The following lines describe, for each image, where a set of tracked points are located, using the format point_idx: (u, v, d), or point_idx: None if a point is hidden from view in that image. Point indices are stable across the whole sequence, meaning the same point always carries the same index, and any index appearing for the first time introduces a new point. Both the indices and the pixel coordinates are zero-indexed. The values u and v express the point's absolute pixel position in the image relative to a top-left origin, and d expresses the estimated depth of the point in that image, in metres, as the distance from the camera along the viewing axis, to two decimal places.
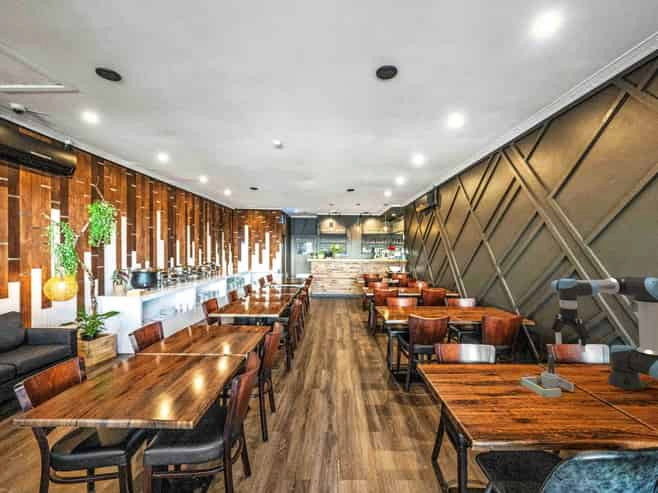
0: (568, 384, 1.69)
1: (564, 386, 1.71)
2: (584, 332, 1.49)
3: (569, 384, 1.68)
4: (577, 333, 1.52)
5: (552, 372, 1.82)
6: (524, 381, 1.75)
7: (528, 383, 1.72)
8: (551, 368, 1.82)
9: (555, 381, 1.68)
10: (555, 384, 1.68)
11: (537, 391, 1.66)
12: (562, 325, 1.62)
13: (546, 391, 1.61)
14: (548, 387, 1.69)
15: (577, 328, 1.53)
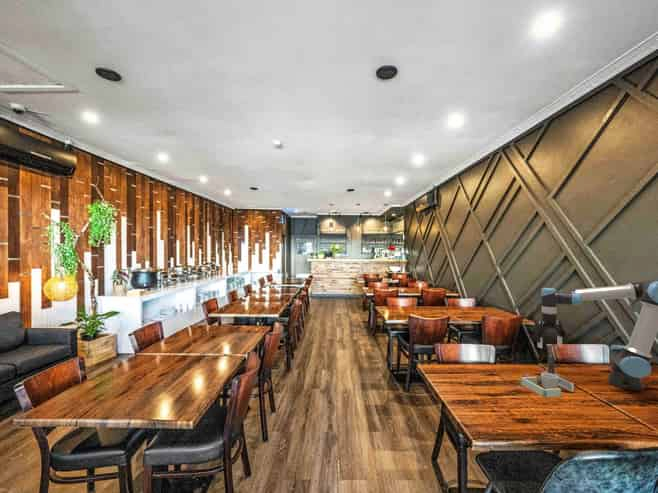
0: (568, 384, 1.69)
1: (564, 386, 1.71)
2: (535, 330, 1.84)
3: (569, 384, 1.68)
4: None
5: (552, 372, 1.82)
6: (524, 381, 1.75)
7: (528, 383, 1.72)
8: (551, 368, 1.82)
9: (555, 381, 1.68)
10: (555, 384, 1.68)
11: (537, 391, 1.66)
12: (554, 329, 1.85)
13: (546, 391, 1.61)
14: (548, 387, 1.69)
15: (542, 329, 1.84)
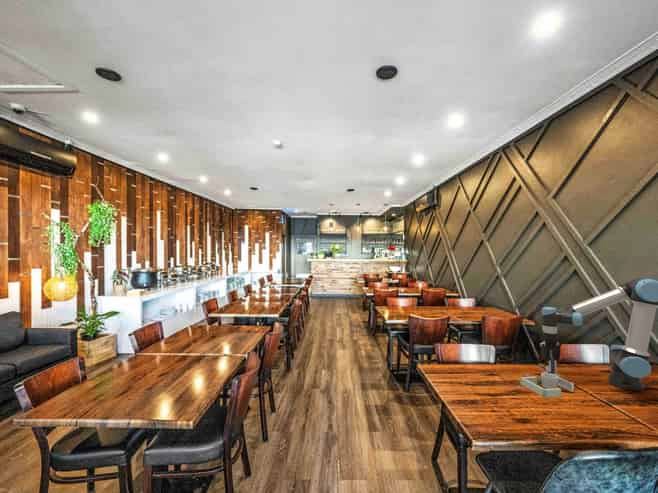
0: (568, 384, 1.69)
1: (564, 386, 1.71)
2: (542, 353, 1.84)
3: (569, 384, 1.68)
4: None
5: (552, 372, 1.82)
6: (524, 381, 1.75)
7: (528, 383, 1.72)
8: (551, 368, 1.82)
9: (555, 381, 1.68)
10: (555, 384, 1.68)
11: (537, 391, 1.66)
12: (552, 349, 1.85)
13: (546, 391, 1.61)
14: (548, 387, 1.69)
15: (546, 350, 1.84)
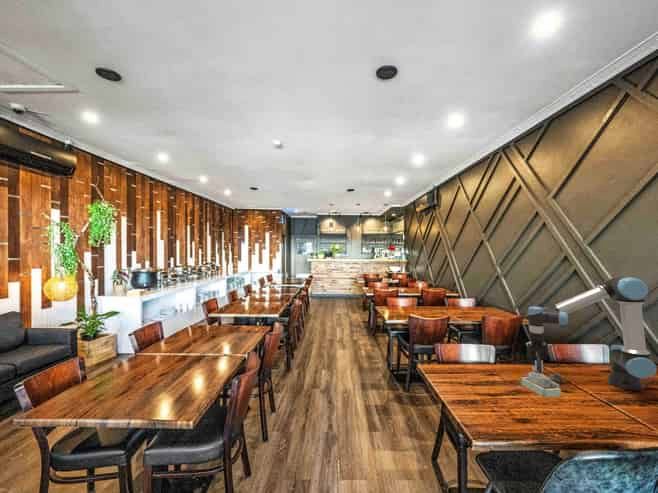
0: (553, 385, 1.68)
1: (550, 387, 1.70)
2: (528, 353, 1.83)
3: (555, 385, 1.67)
4: None
5: None
6: (524, 381, 1.75)
7: (528, 383, 1.72)
8: (538, 369, 1.81)
9: (541, 381, 1.68)
10: (541, 384, 1.68)
11: (537, 391, 1.66)
12: (538, 349, 1.84)
13: (546, 391, 1.61)
14: None
15: (532, 350, 1.83)
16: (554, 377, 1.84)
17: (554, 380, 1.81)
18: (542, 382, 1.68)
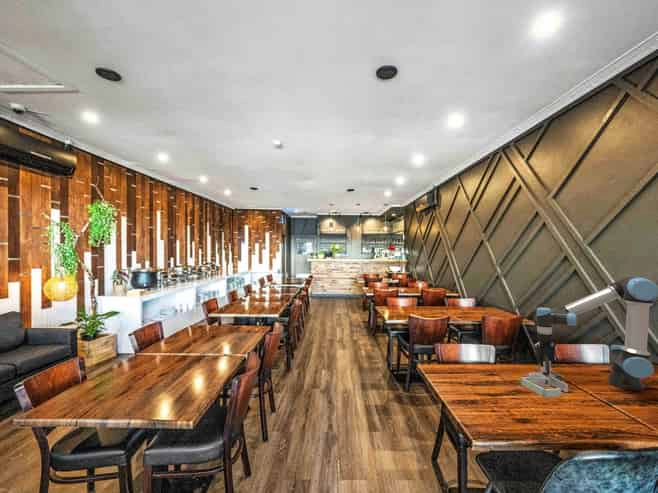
0: (562, 385, 1.69)
1: (558, 386, 1.71)
2: (536, 354, 1.83)
3: (563, 384, 1.68)
4: None
5: (546, 372, 1.82)
6: (524, 381, 1.75)
7: (528, 383, 1.72)
8: (545, 368, 1.82)
9: (541, 381, 1.68)
10: (541, 384, 1.68)
11: (537, 391, 1.66)
12: (546, 350, 1.84)
13: (546, 391, 1.61)
14: None
15: (541, 351, 1.83)
16: None
17: None
18: (542, 382, 1.68)
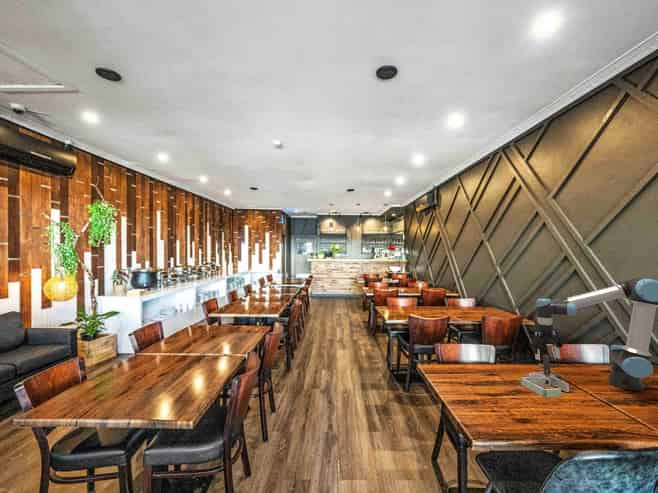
0: (563, 385, 1.69)
1: (559, 386, 1.71)
2: (532, 342, 1.83)
3: (564, 384, 1.68)
4: None
5: (548, 372, 1.82)
6: (524, 381, 1.75)
7: (528, 383, 1.72)
8: (547, 368, 1.82)
9: (541, 381, 1.68)
10: (541, 384, 1.68)
11: (537, 391, 1.66)
12: (551, 339, 1.85)
13: (546, 391, 1.61)
14: None
15: (538, 340, 1.83)
16: None
17: None
18: (542, 382, 1.68)
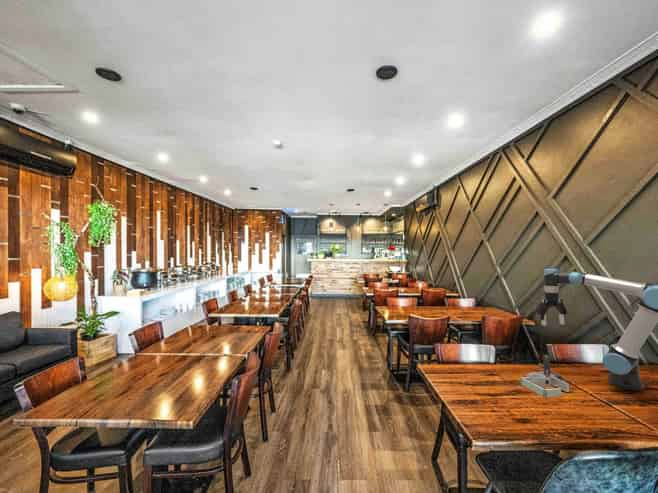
0: (563, 385, 1.69)
1: (559, 386, 1.71)
2: (539, 309, 1.94)
3: (564, 384, 1.68)
4: None
5: (548, 372, 1.82)
6: (524, 381, 1.75)
7: (528, 383, 1.72)
8: (547, 368, 1.82)
9: (541, 381, 1.68)
10: (541, 384, 1.68)
11: (537, 391, 1.66)
12: (556, 307, 1.96)
13: (546, 391, 1.61)
14: None
15: (545, 307, 1.94)
16: None
17: None
18: (542, 382, 1.68)
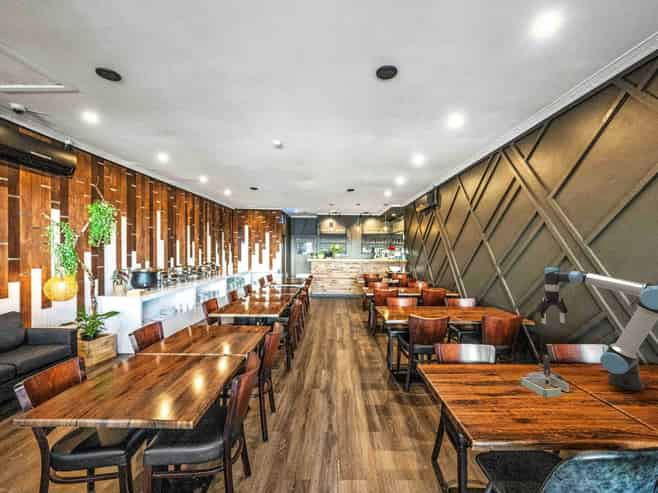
0: (563, 385, 1.69)
1: (559, 386, 1.71)
2: (539, 307, 1.96)
3: (564, 384, 1.68)
4: None
5: (548, 372, 1.82)
6: (524, 381, 1.75)
7: (528, 383, 1.72)
8: (547, 368, 1.82)
9: (541, 381, 1.68)
10: (541, 384, 1.68)
11: (537, 391, 1.66)
12: (557, 305, 1.97)
13: (546, 391, 1.61)
14: None
15: (545, 305, 1.96)
16: None
17: None
18: (542, 382, 1.68)
